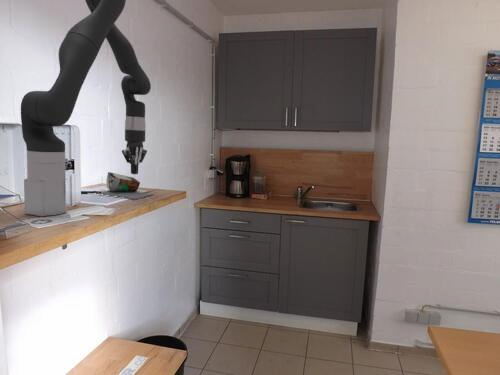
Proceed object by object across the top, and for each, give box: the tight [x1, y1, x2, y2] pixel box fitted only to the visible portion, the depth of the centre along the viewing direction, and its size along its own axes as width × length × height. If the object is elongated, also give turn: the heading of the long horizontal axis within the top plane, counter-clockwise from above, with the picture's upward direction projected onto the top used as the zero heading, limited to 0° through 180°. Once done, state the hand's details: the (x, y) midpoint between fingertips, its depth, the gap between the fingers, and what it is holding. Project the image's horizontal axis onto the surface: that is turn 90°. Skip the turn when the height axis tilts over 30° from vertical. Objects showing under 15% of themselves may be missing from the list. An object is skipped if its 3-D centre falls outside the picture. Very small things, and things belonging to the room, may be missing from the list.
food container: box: [106, 171, 141, 192], centre depth 140 cm, size 12×6×10 cm
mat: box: [95, 189, 154, 201], centre depth 135 cm, size 12×18×1 cm, turn 72°
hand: (134, 174), depth 140 cm, fingers closed
